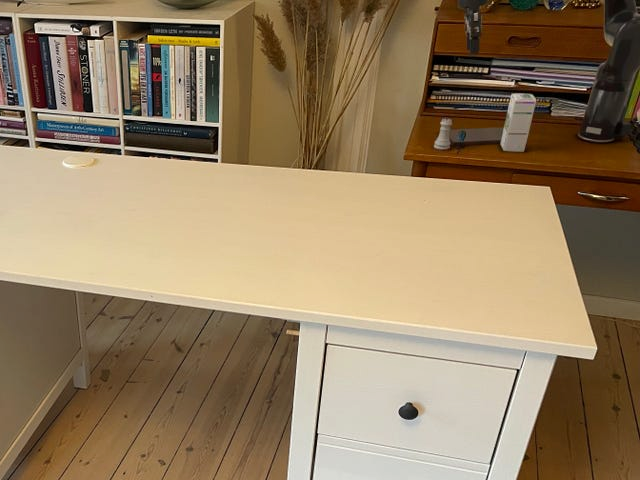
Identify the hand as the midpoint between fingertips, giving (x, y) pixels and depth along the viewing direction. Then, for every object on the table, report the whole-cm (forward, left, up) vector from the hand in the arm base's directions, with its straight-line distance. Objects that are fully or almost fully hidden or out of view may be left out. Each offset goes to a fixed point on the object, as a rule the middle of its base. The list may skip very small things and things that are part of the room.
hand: (472, 51), depth 201 cm
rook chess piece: (+6, +5, -25) cm, 26 cm away
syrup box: (-13, +8, -25) cm, 29 cm away
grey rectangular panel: (-8, -2, -25) cm, 26 cm away
